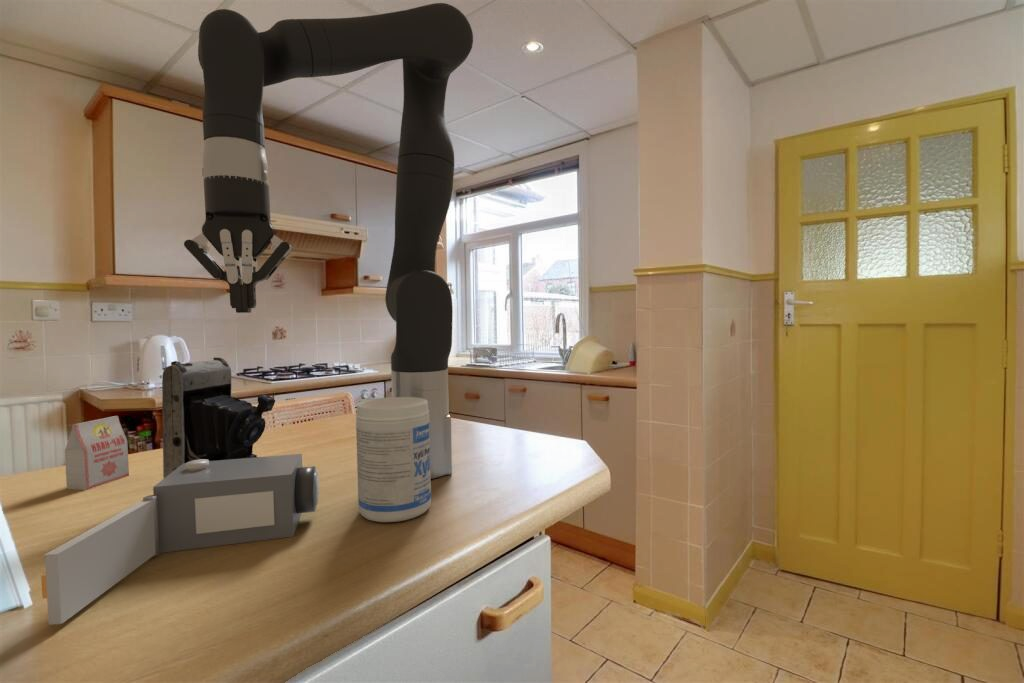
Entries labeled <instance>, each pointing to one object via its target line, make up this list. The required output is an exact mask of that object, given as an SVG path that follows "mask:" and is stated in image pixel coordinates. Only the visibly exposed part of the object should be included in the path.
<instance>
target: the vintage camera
mask: <svg viewBox="0 0 1024 683" xmlns="http://www.w3.org/2000/svg"><path fill="white" fill-rule="evenodd" d="M161 384H162V386H161V387H162V392H161V393H162V394H161V396H162V403H161V404H162V405H161V406H162V408H161V410H162V412H161V413H162V416H161V419H162V463H163V464H162V466H163V467H162V468H163V469H162V474H163V479H164V478H165V477H167V476H168V475H169V474H170V473H172V472H173V471H174V470H175V469H177V468H178V467H179V466H181V465H182V464H183V463H187V462H189V461H193V460H199V459H208V460H209V461H217V460H230V459H242V458H255V457H258V455H257V454H254V453H253V449H254V448H253V447H254V444H256V443H257V442H258V441H259V440H260V438H261V437H262V435H263V433H264V432H265V429H266V420H265V418H263V414H264V413H266V412H267V413H268V412H270V411H272V410H273V408H274V406H275V404H276V399H275V398H274V397H272V396H270V395H267V394H263V395H258V396H257V406H256V405H253V404H252V403H251V402H249V401H246V400H244V399H243V400H242V399H239V398H237V397H235V396H232V367H231V365H229V363H228V361H226V360H225V359H224V358H222V357H213V359H212V360H204V361H195V362H185V363H181V362H180V361H176V360H175V361H171V362H170V365H169V366H165V368H164V369H163V372H162V381H161Z"/></svg>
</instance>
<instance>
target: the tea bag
mask: <svg viewBox="0 0 1024 683" xmlns="http://www.w3.org/2000/svg"><path fill="white" fill-rule="evenodd" d="M128 448H129V447H128V439H127V436H126V435H125V432H124V430H123V427H122V424H121V422H120V419H119V415H114V416H108V417H104V418H98V419H94V420H93V419H92V420H88V421H85V422H84V421H83V422H79V423H74V424H72V425H71V432H70V434H69V437H68V441H67V443H66V446H65V449H64V461H65V462H64V463H65V477H66V478H65V479H66V481H65V482H66V489H69V490H84V491H88V490H90V489H93V487H94V488H97V487H100V486H103V485H105V483H106V484H108V482H109V483H111V482H115V481H117V480H121V479H123V478H126V477H129V476H130V468H129V449H128ZM102 484H103V485H102ZM96 486H97V487H96Z"/></svg>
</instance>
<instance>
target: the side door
mask: <svg viewBox="0 0 1024 683" xmlns="http://www.w3.org/2000/svg"><path fill="white" fill-rule="evenodd" d="M159 554H161V553H160V552H159V531H158V511H157V495H154V494H150V495H146V496H143V497H142V500H141V501H139V502H137V503H135V504H134V505H131V506H129V507H128V508H127V509H125V510H123V511H121V512H119V513H117V514H115V515H114V516H112V517H110V518H108V519H107V520H105V521H103V522H101V523H99V524H98V525H96V526H94V527H92V528H90V529H88V530H87V531H85V532H83V533H81V534H79V535H78V536H76V537H73V538H72V539H70V540H68V541H66V542H65V543H63V544H62V545H59V546H57V547H55V548H54V549H53V550H50V551H49V552H47V553H44V565H45V566H44V568H45V569H44V570H45V572H44V573H43V574H41V575H40V580H41V596H42V599H47V600H46V601H47V603H46V604H47V615H48V616H47V617H48V625H62V624H64V623H65V622H66V621H68V620H69V619H70V618H72V617H73V616H75V615H76V614H77V613H78V612H80V611H81V610H82V609H84V608H85V607H87V606H88V605H89V604H90V603H92V602H93V601H95V600H96V599H97V598H98V597H100V596H101V595H103V594H104V593H105V592H107V591H108V590H110V588H112V587H113V586H114V585H116V584H117V583H119V582H120V581H122V579H124V578H126V577H127V576H129V574H131V573H132V572H134V571H135V570H136V569H138V568H139V567H140V566H142V565H143V564H144V563H146V562H147V561H148V560H150V559H151V558H153V557H157V556H158V555H159Z"/></svg>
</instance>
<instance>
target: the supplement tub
mask: <svg viewBox="0 0 1024 683" xmlns="http://www.w3.org/2000/svg"><path fill="white" fill-rule="evenodd" d="M355 417H356V418H355V427H356V428H355V431H356V432H355V433H356V434H355V435H356V459H357V460H356V465H357V496H358V497H357V500H358V511H359V513H360V515H361V516H362V517H364V518H365V519H367V520H369V521H371V522H378V523H396V522H397V523H398V522H403V521H404V522H405V521H408V520H411V519H414V518H417V517H419V516H421V515H423V514H424V513H425V512H427V511H428V509H429V508H430V506H431V504H432V486H431V484H432V481H431V476H430V426H429V410H428V401H427V400H426V399H423V398H416V397H392V396H389V397H388V396H387V397H377V398H371V399H367V400H363V401H359V402H358V403H357V404H356V414H355Z"/></svg>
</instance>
